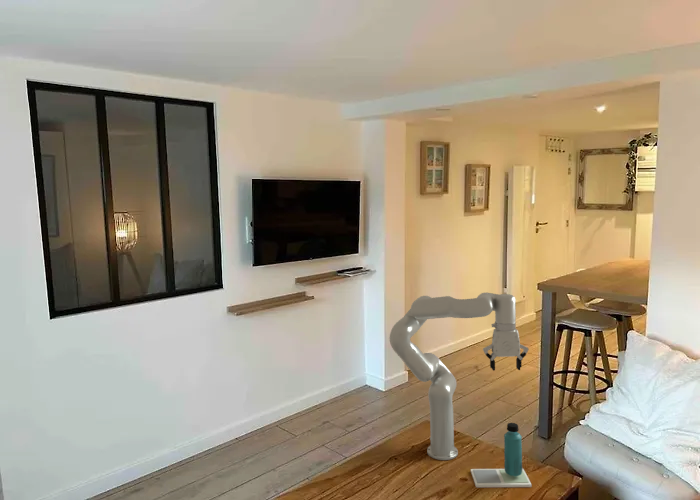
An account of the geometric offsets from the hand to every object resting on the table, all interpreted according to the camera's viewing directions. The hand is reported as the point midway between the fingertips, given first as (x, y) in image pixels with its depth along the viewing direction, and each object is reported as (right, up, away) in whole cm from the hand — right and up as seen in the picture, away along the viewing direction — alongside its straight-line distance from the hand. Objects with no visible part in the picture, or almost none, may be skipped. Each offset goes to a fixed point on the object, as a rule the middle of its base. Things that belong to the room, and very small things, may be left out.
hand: (505, 369), depth 203 cm
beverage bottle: (0, -38, -8) cm, 39 cm away
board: (-4, -40, -8) cm, 40 cm away
